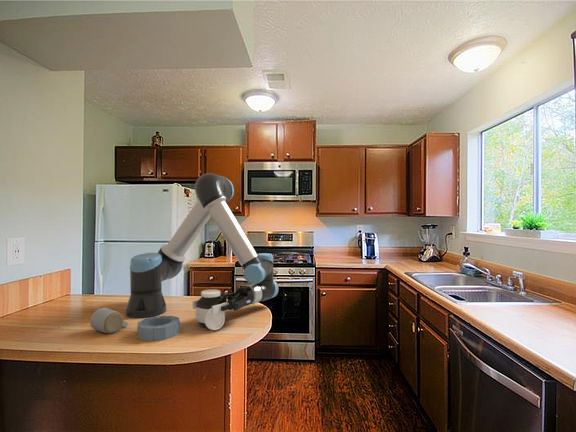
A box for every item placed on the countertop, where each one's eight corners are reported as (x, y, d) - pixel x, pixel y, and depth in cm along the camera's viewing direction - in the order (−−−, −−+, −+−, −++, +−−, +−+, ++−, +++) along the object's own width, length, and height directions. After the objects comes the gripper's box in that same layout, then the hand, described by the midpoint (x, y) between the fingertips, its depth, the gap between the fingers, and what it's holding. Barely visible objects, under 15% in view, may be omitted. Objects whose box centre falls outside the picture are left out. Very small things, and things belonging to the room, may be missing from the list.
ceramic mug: (104, 337, 108) (104, 313, 108) (89, 333, 112) (89, 310, 112) (133, 327, 118) (133, 306, 118) (118, 324, 121) (118, 303, 121)
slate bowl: (130, 334, 110) (130, 322, 110) (165, 324, 120) (165, 313, 120) (151, 344, 102) (151, 331, 102) (187, 332, 112) (187, 320, 112)
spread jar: (212, 318, 126) (212, 287, 126) (236, 323, 120) (236, 291, 120) (188, 327, 116) (188, 294, 116) (212, 333, 110) (212, 298, 110)
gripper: (269, 309, 126) (224, 325, 109) (229, 300, 140) (183, 312, 122) (269, 289, 126) (224, 302, 109) (228, 282, 140) (183, 292, 122)
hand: (202, 307), depth 116 cm, fingers closed on spread jar, 10 cm apart
